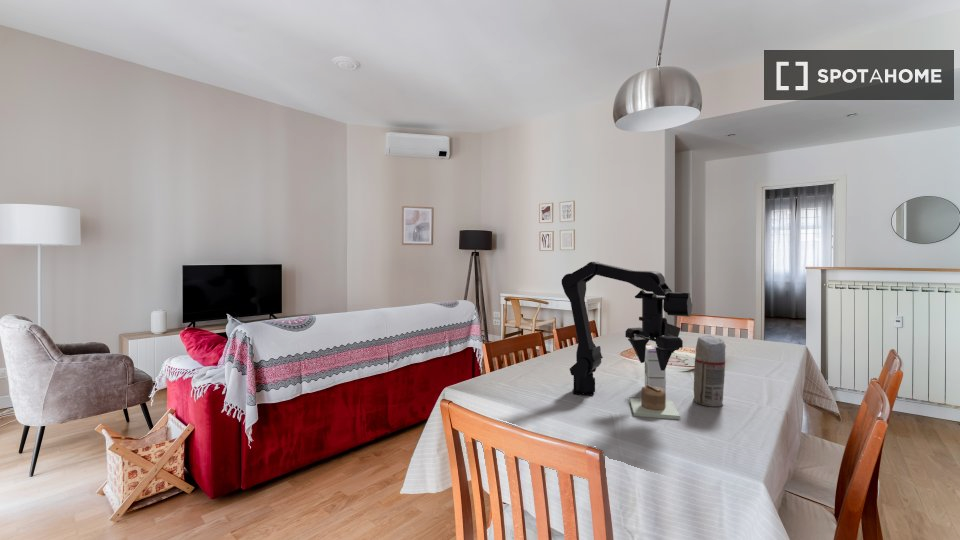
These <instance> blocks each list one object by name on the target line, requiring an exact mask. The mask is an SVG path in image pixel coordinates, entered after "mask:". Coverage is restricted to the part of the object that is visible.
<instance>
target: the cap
mask: <svg viewBox="0 0 960 540" xmlns="http://www.w3.org/2000/svg"><path fill="white" fill-rule="evenodd" d="M666 393H667V392H666V390H665V389H663V388H660V387H655V386H651V385H646V386H645V385H644V386H641V397H640V399H641V406H642V407H644V408H646V409H649V410H655V411H658V410H665V407H666V401H667V396H666Z"/></svg>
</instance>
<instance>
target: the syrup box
mask: <svg viewBox="0 0 960 540" xmlns="http://www.w3.org/2000/svg"><path fill="white" fill-rule="evenodd" d="M655 347H657V345H656V344H654V345H650V344H649V345H646V350H645V361H644V387H645V386H646V385H651V386H655V387H660V388H663V389H665V390H666V389H667V388H666V385H667V384H666V383H667V382H666V380H667V379H666V372H667V371H666V369H665V370H664V371H662V370H661V369H660V366H659V361H658V357H657V353H656V348H655Z"/></svg>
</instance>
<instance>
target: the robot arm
mask: <svg viewBox="0 0 960 540" xmlns="http://www.w3.org/2000/svg"><path fill="white" fill-rule="evenodd" d="M596 276H598V277H599V276H600V277H604V278H608V279H613V280H616V281H621V282H624V283H628V284H631V285H632V286H634V287H636V288H638V289H640V290H639V292H638V293H637V294H636V295H635V296H634V299H640V300H641V316H638V320H639V321H641V327H627V329H626V330H625V332H624V333H625V336H624V337H625V338H627V341H629V343H630V345H631V347H632V348H633V350H634V352H635V355H636V356H637V358H638V360H639V362H640V363H641V364H645V350H646V346H647V344H648V342H649V341H652V342H655V346H657V347H655V348H656V353H657V357H658V361H659V366H660V369H661V370H662V371H664V370H665V371H666V368H667V365H668V363H669V362H670V361H669V360H670V358H671V356H672V354H673V353H674V352H676V351H679V350H680V349H682V348H683V347H684V346H683V343H684V341H683V340H682V338H681V337H679V335H680V332H681V329H682V328H681V327H678V326H676V325H674V324H670V323H668V319H667V318H666V317H664V313H666V314H667V315H668V316H673V317H675V316H676V317H685V318H686V317H687V318H691V316H692V313H693V312H692V311H693V303H692V298H691V293H690V292H688V291H686V292H685V291H684V292H674V291H672V289H671V288H670V287H669V285H668V284H667V283H666V278H665V276H664V275H663V273H661V272H659V271H656V270H655V271H653V270H633V269H628V268H623V267H620V266H614V265H610V264H605V263H602V262H599V261H590V262H588V263H586V264H585V265H584V266H582V267H580V268H579V269H578V268H577V270H575V271H573V272H572V273H566V274H564V275H563V277H562V278H561V286H562V290H563V292H564V294H565V296H566V297H567V299H568V300H569V303H570V308H571V312H572V317H573V318H572V319H573V324H574V328H575V329H574V330H575V334H576V340H577V349H576V353H575V354H576V357H575V358H576V359H575V360H576V363H574V364H573V365H572V366H571V367H570V368H569V372H570V373H569V374H570V375H571V376H572V377H573V389H572V390H573V391H572V394H573V395H582V396H583V395H585V396H594V395H595V393H596V377H594V373H595V372H596V371H597V369H598V368H599V366H601V364H602V359H603V358H604V357H603V355H602V350H601V345H598V346H596V344H595V343H594V341H593V336H592V330H591V326H590V320H589V315H588V310H587V306H586V300H585V298H586V293H587V283H588V282H589V281H591V280H592V279H593V278H594V277H596Z"/></svg>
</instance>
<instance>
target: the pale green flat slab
mask: <svg viewBox="0 0 960 540" xmlns="http://www.w3.org/2000/svg"><path fill="white" fill-rule="evenodd" d="M629 403H630V406H631V410H632V415H633V416H634V417H644V418H646V417H647V418H656V419H657V418H659V419H668V420H669V419H670V420H681V415H680V414H681V413H679V411H678V409H677V408H676V406H675V403H674V402H673V401H672V400H666V407H665V410H658V411H655V410H649V409H646V408H644V407H642V406H641V398H631V397H630V398H629Z"/></svg>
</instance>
